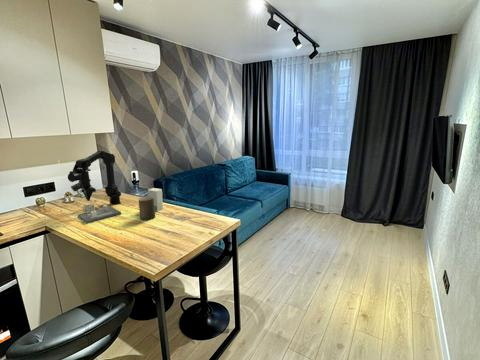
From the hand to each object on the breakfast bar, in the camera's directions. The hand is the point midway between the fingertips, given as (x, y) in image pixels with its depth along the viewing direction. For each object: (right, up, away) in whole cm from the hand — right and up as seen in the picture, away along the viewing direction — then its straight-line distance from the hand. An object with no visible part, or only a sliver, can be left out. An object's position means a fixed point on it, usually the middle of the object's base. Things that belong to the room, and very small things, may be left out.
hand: (88, 200), depth 180 cm
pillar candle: (+43, -12, -3) cm, 44 cm away
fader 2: (+10, -7, +5) cm, 13 cm away
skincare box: (+43, -8, +12) cm, 46 cm away
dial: (0, -8, +2) cm, 9 cm away
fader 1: (+8, -10, -7) cm, 15 cm away
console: (+7, -11, +1) cm, 13 cm away
